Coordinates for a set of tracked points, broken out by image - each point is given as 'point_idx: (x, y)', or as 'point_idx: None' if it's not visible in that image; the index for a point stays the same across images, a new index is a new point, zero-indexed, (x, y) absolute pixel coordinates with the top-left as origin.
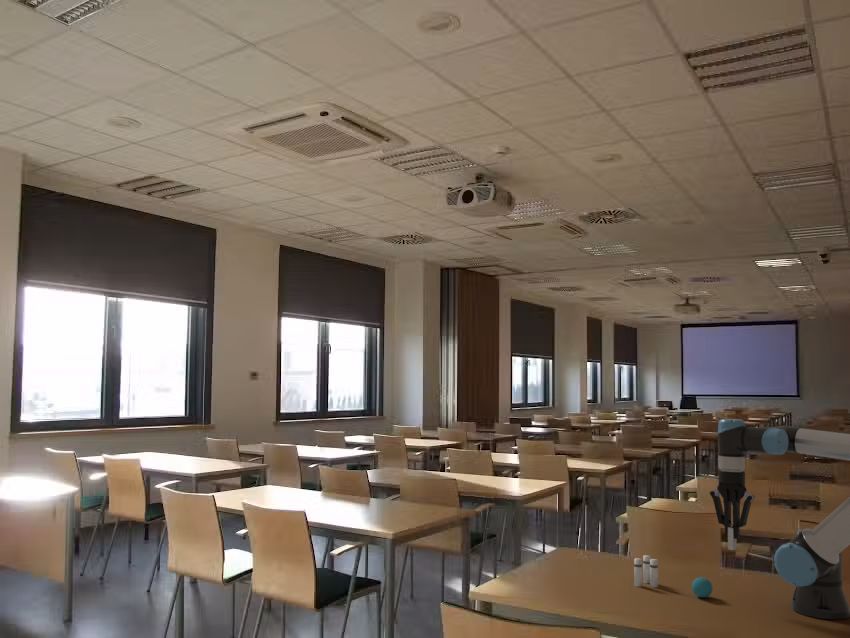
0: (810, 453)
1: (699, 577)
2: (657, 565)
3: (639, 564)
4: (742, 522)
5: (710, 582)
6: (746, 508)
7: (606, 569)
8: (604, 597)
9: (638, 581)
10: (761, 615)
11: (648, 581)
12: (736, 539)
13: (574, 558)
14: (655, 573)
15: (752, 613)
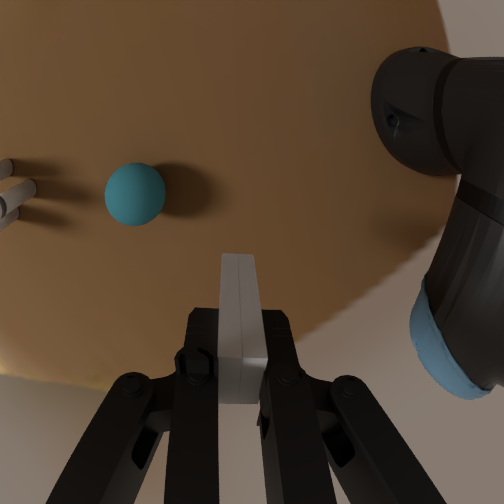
0: None
1: (117, 206)
2: (2, 208)
3: None
4: (344, 442)
5: (152, 189)
6: None
7: None
8: (40, 320)
9: (10, 223)
10: (318, 229)
11: (9, 173)
12: (257, 287)
13: None
14: (14, 207)
15: (297, 228)
